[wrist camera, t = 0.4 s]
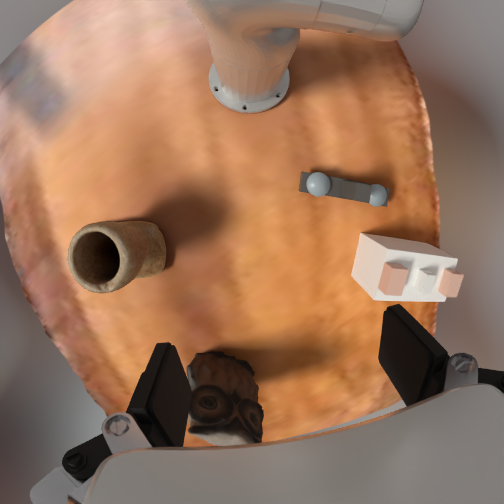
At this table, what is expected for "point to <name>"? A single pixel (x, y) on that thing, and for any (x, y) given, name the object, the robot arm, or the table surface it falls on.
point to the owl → (224, 400)
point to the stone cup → (115, 254)
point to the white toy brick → (404, 270)
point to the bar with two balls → (343, 188)
